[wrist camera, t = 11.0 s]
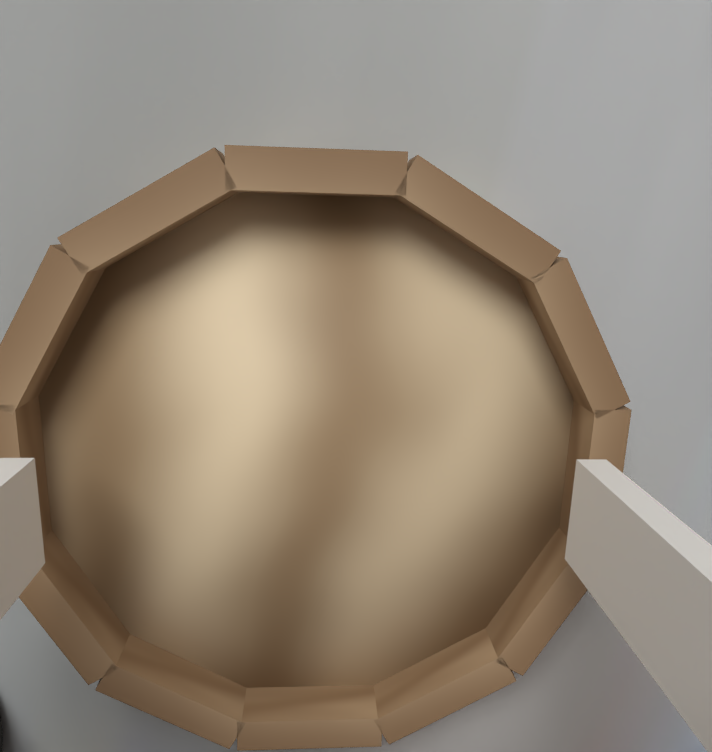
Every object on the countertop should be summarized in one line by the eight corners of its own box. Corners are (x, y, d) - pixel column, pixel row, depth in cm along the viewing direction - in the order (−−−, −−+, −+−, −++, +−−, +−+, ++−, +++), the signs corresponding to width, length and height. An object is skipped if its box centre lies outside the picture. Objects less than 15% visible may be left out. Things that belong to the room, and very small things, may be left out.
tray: (47, 700, 20) (16, 756, 18) (-11, 145, 16) (-60, 134, 14) (558, 688, 21) (585, 740, 19) (622, 168, 17) (665, 161, 15)
